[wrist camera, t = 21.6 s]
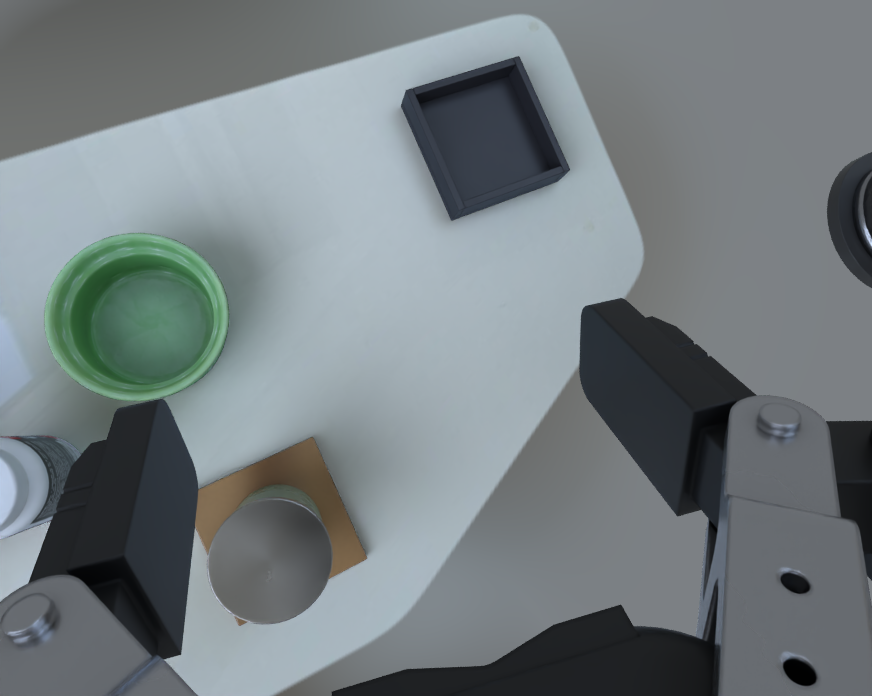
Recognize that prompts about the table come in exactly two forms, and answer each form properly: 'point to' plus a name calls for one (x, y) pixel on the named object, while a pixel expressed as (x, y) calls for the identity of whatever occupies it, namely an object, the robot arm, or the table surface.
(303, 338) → the table surface
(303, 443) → the coaster
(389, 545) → the table surface
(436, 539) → the table surface
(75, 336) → the ramekin
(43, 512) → the pill bottle
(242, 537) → the tin
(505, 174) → the tray
